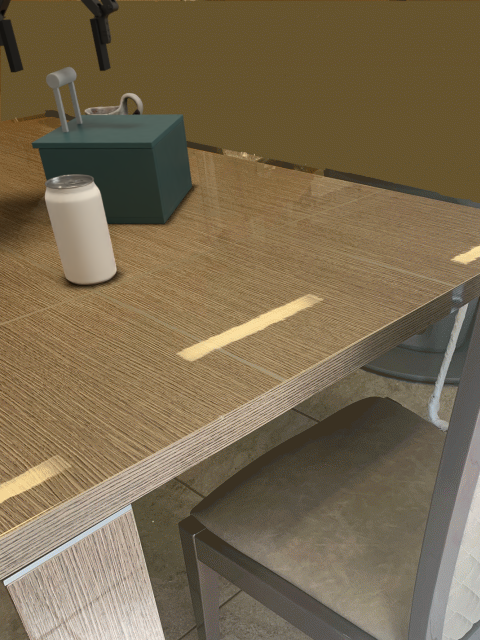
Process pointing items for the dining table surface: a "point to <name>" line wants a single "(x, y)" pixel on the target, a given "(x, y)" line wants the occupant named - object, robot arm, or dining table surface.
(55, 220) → the can
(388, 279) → the dining table surface
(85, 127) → the cooler lid
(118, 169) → the cooler
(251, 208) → the dining table surface
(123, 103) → the mug
